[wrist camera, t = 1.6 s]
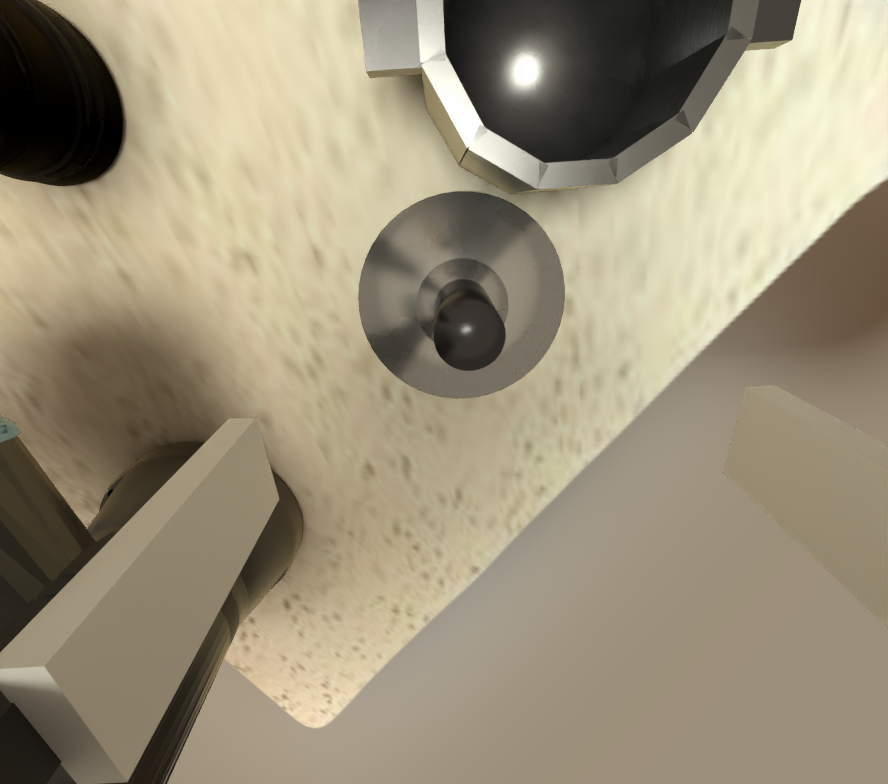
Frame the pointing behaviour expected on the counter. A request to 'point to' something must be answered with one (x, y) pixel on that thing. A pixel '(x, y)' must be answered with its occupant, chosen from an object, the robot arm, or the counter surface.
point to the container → (53, 99)
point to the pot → (566, 77)
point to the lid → (461, 294)
